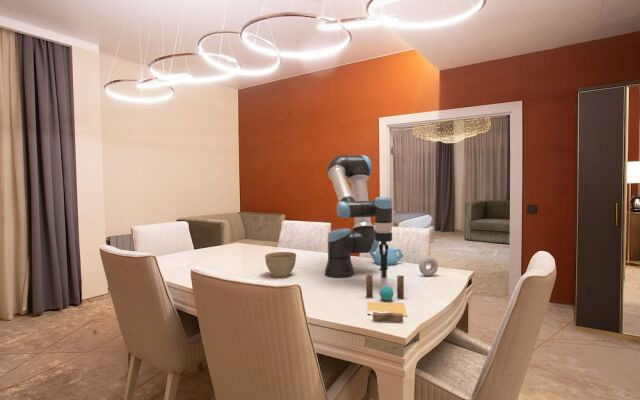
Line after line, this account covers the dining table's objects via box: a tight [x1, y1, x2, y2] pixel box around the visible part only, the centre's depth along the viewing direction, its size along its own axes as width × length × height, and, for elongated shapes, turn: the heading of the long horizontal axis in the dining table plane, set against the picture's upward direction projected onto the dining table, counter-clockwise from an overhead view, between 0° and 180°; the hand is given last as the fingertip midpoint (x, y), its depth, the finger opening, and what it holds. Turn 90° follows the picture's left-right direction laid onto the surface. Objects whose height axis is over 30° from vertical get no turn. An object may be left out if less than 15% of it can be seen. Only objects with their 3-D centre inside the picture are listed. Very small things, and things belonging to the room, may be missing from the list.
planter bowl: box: [264, 251, 297, 278], centre depth 190 cm, size 16×16×11 cm
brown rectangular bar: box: [372, 312, 404, 323], centre depth 125 cm, size 10×2×2 cm, turn 82°
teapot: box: [369, 246, 404, 267], centre depth 214 cm, size 15×15×11 cm
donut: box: [418, 255, 439, 277], centre depth 184 cm, size 10×3×10 cm, turn 102°
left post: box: [365, 274, 374, 299], centre depth 152 cm, size 3×3×9 cm
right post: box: [396, 274, 405, 300], centre depth 150 cm, size 3×3×9 cm
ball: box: [379, 285, 394, 301], centre depth 148 cm, size 6×6×6 cm
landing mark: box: [366, 301, 408, 317], centre depth 137 cm, size 14×14×1 cm
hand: (383, 284), depth 164 cm, fingers closed
